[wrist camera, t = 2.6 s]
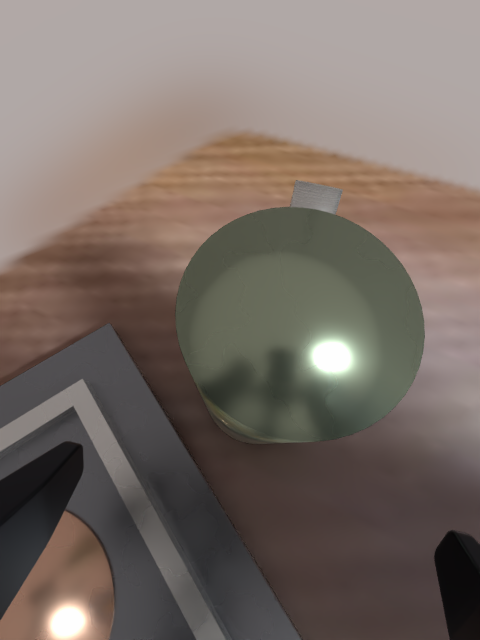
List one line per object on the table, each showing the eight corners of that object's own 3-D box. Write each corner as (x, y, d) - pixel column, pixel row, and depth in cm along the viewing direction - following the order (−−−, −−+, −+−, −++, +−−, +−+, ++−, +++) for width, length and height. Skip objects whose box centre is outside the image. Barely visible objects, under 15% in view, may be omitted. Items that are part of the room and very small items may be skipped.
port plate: (-152, 1136, 11) (-219, 1261, 9) (-266, 549, 16) (-323, 561, 15) (320, 669, 16) (332, 696, 14) (113, 327, 21) (103, 316, 19)
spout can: (299, 454, 19) (422, 470, 7) (193, 430, 19) (141, 406, 7) (317, 325, 22) (429, 179, 10) (224, 305, 22) (224, 139, 10)
